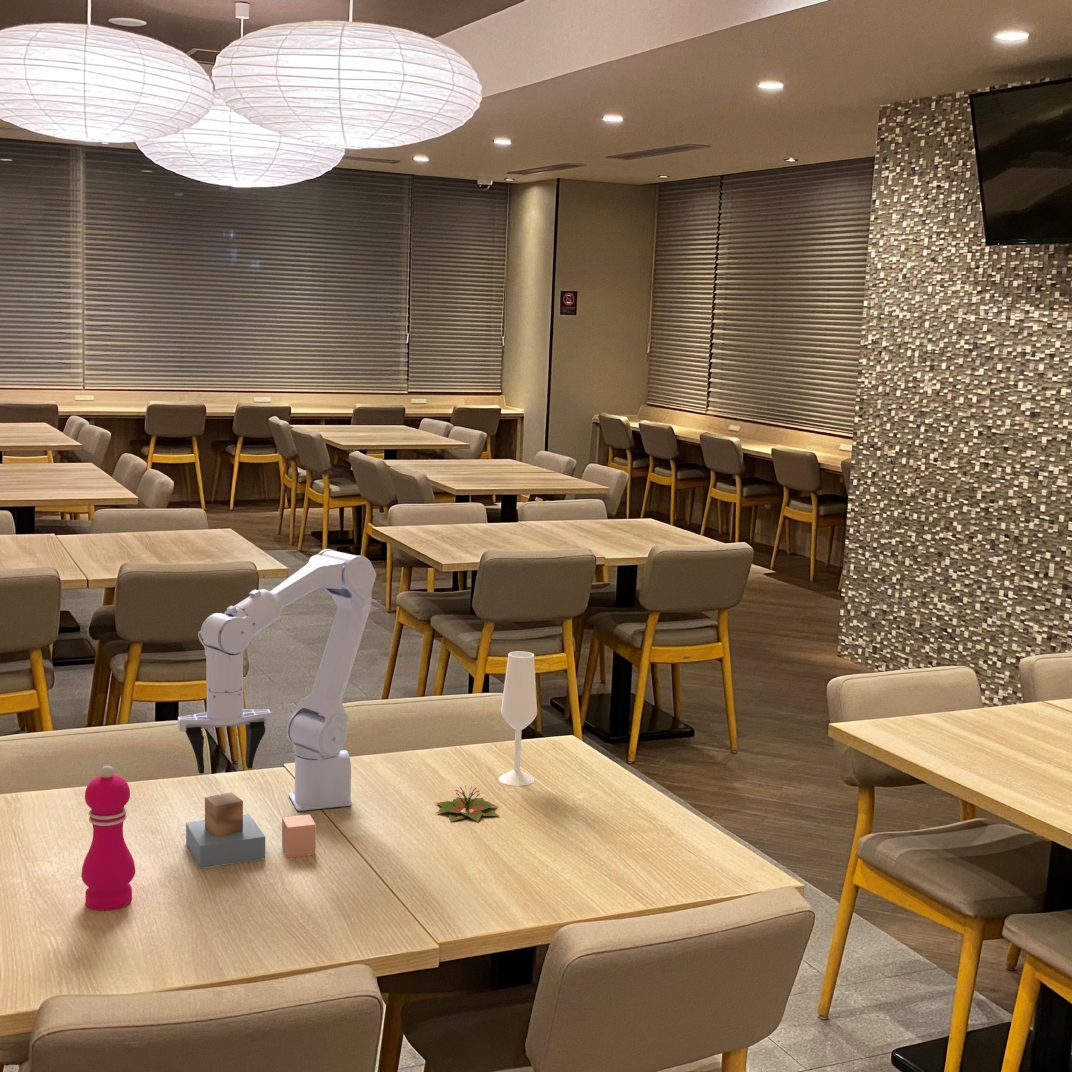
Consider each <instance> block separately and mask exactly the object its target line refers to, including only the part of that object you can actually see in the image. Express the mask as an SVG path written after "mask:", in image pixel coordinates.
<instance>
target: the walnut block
mask: <svg viewBox="0 0 1072 1072" xmlns="http://www.w3.org/2000/svg"><path fill="white" fill-rule="evenodd" d="M243 815H244V800H242V799H241V798H240V797H238V796H237V795H235V793H234V792H232V791H231V792H226V793H220V794H215V795H211V796H205V797H204V820H205V829H207V830H208V831H209V832H210V833H211V834H213V835H214V836H215V837H220V836H225V835H229V834H234V833H239V832H243Z"/></svg>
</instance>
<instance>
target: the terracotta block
mask: <svg viewBox="0 0 1072 1072" xmlns="http://www.w3.org/2000/svg"><path fill="white" fill-rule="evenodd" d="M281 821H282V822H281V848H282V850H283V852H284V854H285V855H286V858H287V859H288V858H297V857H306V856H312V855H313V856H314V855H316V842H317V841H316V840H317V839H316V838H317V837H316V832H317V830H316V829H317V826H316V825H317V824H316V822H315V821H314V819H313V818H312V816H311V814H302V815H301V814H300V815H293V816H291V815H290V816H284V817H281Z"/></svg>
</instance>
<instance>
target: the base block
mask: <svg viewBox="0 0 1072 1072" xmlns="http://www.w3.org/2000/svg"><path fill="white" fill-rule="evenodd" d="M185 845H186V847H187V848H188V850H189V851H190V853H191V855H192V857H193V859H194V861H195V863H196V864H197V865H198V868H199V869H207V868H211V867H218V866H225V865H232V864H233V865H234V864H236V863H237V864H239V863H244V862H249V861H250V862H251V861H257V860H265V859H266V835H265V834H264V832H263V831H262V829H260V827H259V826H258V825H257V823H256V821H255V820H254V819H253V818H252V816H251V814H250V813H246V814H243V832H239V833H234V834H229V835H225V836H220V837H215V836H214V835H213V834H211V833H210V832H209V831H208V830H207V829H205V819H204V820H197V821H187V822H185Z"/></svg>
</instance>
